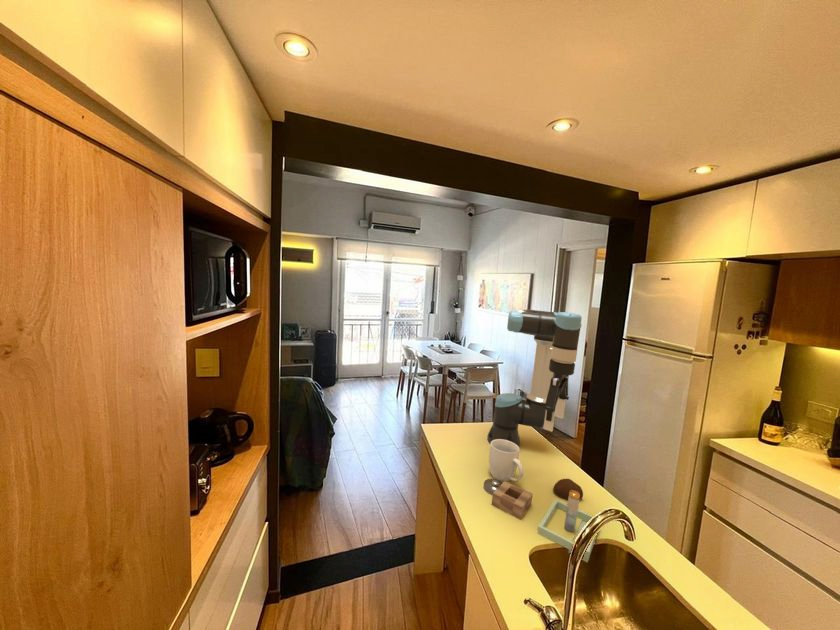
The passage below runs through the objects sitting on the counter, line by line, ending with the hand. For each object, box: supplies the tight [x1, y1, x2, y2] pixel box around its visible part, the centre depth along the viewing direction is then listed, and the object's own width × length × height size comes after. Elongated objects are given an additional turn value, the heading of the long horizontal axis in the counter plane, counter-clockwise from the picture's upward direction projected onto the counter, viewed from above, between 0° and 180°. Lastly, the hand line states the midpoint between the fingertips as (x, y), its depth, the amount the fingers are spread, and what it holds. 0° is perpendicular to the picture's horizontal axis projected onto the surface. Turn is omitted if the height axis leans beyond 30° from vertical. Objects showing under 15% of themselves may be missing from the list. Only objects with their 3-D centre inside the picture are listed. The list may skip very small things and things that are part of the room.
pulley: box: [483, 478, 504, 496], centre depth 121 cm, size 8×8×4 cm
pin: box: [563, 490, 581, 533], centre depth 103 cm, size 3×3×12 cm
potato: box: [552, 478, 584, 501], centre depth 121 cm, size 7×10×7 cm
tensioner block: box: [491, 481, 533, 520], centre depth 113 cm, size 10×10×5 cm
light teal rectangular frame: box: [537, 498, 598, 563], centre depth 104 cm, size 18×14×3 cm
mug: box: [488, 439, 524, 482], centre depth 128 cm, size 15×11×13 cm
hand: (553, 423), depth 110 cm, fingers open, 13 cm apart
